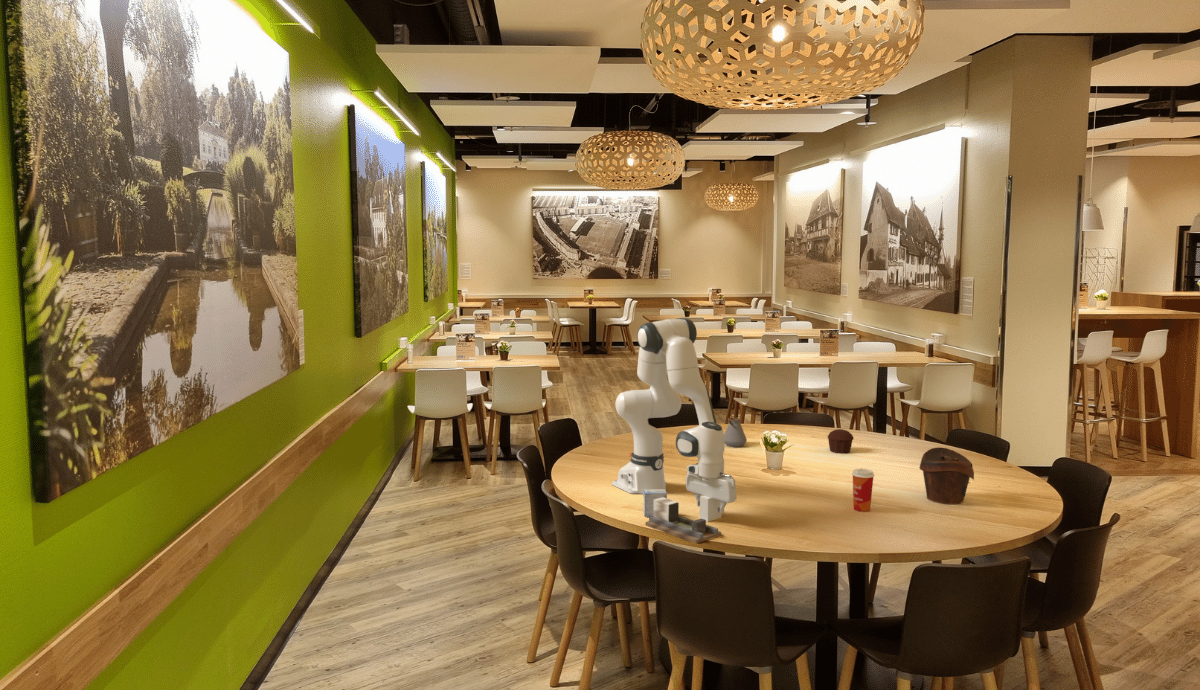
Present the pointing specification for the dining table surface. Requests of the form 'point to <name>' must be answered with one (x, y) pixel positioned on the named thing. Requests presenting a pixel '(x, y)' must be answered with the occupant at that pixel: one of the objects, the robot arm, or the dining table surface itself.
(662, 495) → the medicine box
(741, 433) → the coffee pot
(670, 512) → the rail
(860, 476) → the paper cup
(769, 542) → the dining table surface
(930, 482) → the chocolate cupcake
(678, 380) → the robot arm
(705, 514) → the white box
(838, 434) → the muffin
